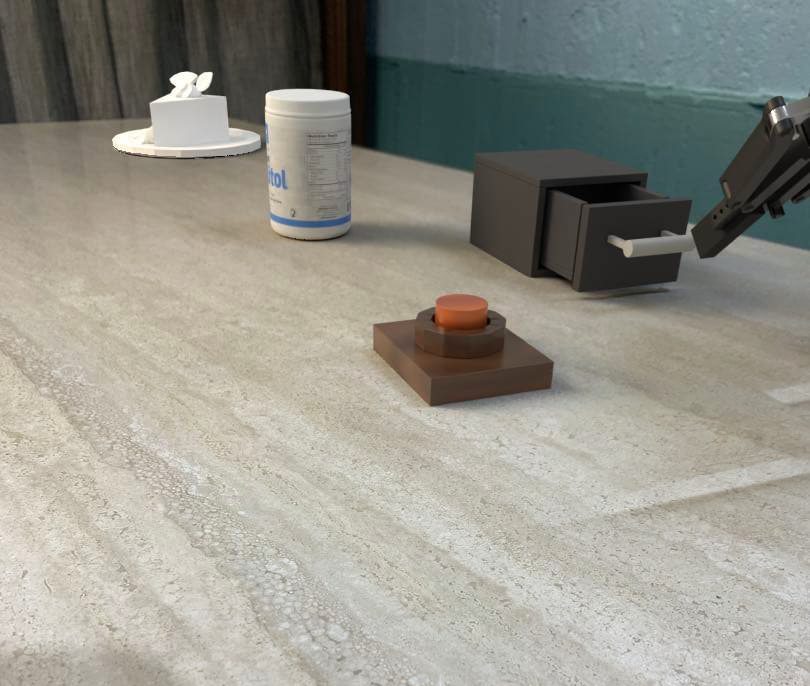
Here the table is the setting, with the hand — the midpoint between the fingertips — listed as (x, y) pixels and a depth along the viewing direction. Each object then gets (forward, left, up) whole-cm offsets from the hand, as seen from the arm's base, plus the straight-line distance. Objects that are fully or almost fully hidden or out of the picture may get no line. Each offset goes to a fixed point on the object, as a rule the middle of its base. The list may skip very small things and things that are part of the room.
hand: (702, 243), depth 74 cm
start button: (+19, +13, -4) cm, 24 cm away
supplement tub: (+40, -26, -8) cm, 48 cm away
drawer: (+7, -12, -6) cm, 15 cm away
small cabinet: (+12, -22, -7) cm, 26 cm away
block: (+19, +13, -7) cm, 25 cm away
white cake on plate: (+74, -78, -8) cm, 108 cm away
